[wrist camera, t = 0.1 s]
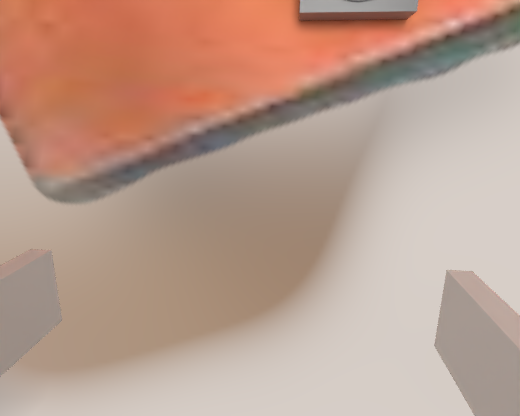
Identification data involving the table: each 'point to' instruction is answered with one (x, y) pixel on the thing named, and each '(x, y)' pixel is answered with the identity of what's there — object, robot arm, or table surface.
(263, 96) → the table surface
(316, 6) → the speaker
